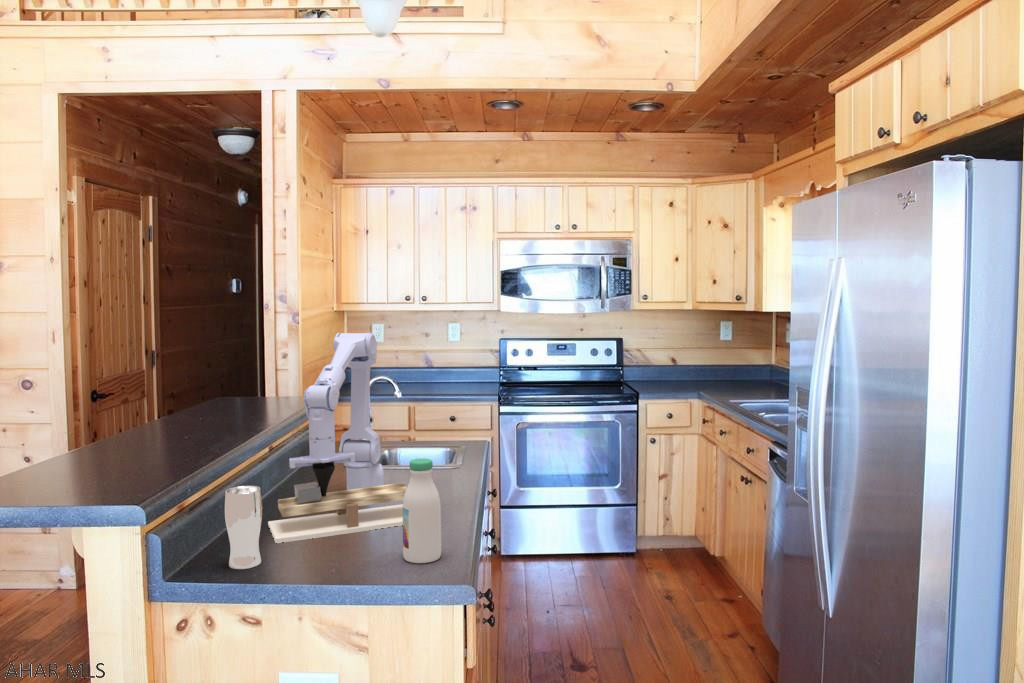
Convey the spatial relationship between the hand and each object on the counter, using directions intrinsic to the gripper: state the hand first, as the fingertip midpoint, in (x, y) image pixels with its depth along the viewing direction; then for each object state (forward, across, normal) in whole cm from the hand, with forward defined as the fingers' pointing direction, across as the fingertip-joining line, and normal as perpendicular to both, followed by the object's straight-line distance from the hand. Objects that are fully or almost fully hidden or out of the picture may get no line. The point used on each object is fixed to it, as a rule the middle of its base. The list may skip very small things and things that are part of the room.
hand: (323, 495), depth 168 cm
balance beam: (+2, +5, 0) cm, 6 cm away
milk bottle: (+8, +14, -29) cm, 33 cm away
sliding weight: (+1, -3, 0) cm, 4 cm away
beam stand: (+7, +5, 0) cm, 9 cm away
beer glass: (+8, -19, -17) cm, 26 cm away
